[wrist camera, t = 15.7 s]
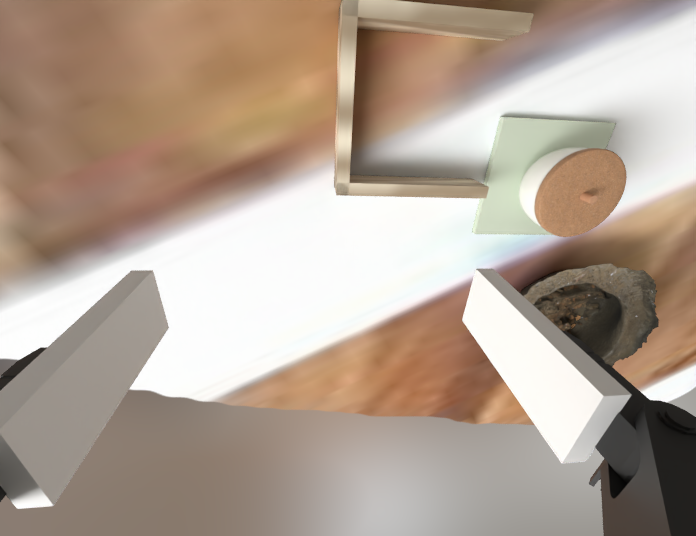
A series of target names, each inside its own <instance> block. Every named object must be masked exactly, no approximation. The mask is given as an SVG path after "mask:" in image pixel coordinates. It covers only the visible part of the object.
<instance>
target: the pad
mask: <svg viewBox="0 0 696 536" xmlns="http://www.w3.org/2000/svg"><path fill="white" fill-rule="evenodd" d="M615 125H616V123H607V122H588V121H570V120H551V119H532V118H514V117H500V120H499V124H498V128H497V132H496V136H495V140H494V144H493V148H492V152H491V156H490V160H489V164H488V168H487V172H486V176H485V180H484V185H486V186H488V187H489V190H488V194H487V197H486V198H480V200H479V204H478V208H477V212H476V216H475V220H474V224H473V228H472V232H473V233H474V234H532V235H554V234H552V233H550V232H548V231H546V230H545V229H544V228H542V227H541V226H539V225H537V224H536V223H535V222H533V221H532V220H531V219H530V218H529V217H528V216H527V215H526V214H525V212H524V211H523V209H522V207H521V205H520V201H519V187H520V183H521V180H522V178H523V176H524V174H525V173H526V171H527V170H528V169H529V167H530V166H531V165H532V164H533V163H534V162H536V161H537V160H538V159H540V158H541V157H542V156H544V155H546V154H548V153H550V152H553V151H556V150H559V149H564V148H573V147H584V148H600V149H606V147H607V145H608V142H609V140H610V137H611V135H612V132H613V130H614V127H615Z"/></svg>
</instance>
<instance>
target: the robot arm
mask: <svg viewBox="0 0 696 536" xmlns="http://www.w3.org/2000/svg"><path fill="white" fill-rule="evenodd" d="M462 321H463V322H464V324H465V325H466V327H467V328H468V329H469V331H470V332H471V334H472V335H473V337H474V338H475V339H476V341H477V342H478V344H479V345H480V347H481V348H482V350H483V351H484V352H485V354H486V355H487V357H488V358H489V360H490V361H491V362H492V364H493V365H494V367H495V368H496V370H497V371H498V373H499V374H500V375H501V377H502V378H503V380H504V381H505V383H506V384H507V385H508V387H509V388H510V390H511V391H512V393H513V394H514V395H515V397H516V398H517V400H518V401H519V403H520V404H521V406H522V407H523V408H524V410H525V411H526V413H527V414H528V416H529V417H530V418H531V420H532V421H533V423H534V424H535V425H536V427H537V428H538V430H539V431H540V433H541V434H542V436H543V437H544V439H545V440H546V441H547V443H548V444H549V445H550V447H551V449H552V450H553V451H554V453H555V454H556V456H557V457H558V459H559V460H560V462H561V463H562V464H563V463H575V462H586V461H587V460H588V458H589V457H590V455H591V454H592V452H593V451H594V450H595V448H596V449H597V450H598V451H599V452H600V454H601V455H602V456H603V457H604V458H605V459H604V460H603V462H602V463H601V465H600V466H599V467H598V469H597V470H596V471H595V473H594V474H593V476H592V477H591V479H590V482H589V484H590V485H592V486H594V485H595V484H596V483H597V481H598V480H600V479H601V491H602V509H603V510H602V511H603V530H604V536H696V417H695V416H693V415H691V414H690V413H688V412H687V411H685V410H683V409H681V408H679V407H677V406H675V405H672V404H669V403H666V402H662V401H653V400H649V399H648V398H647V397H646V396H644V395H643V394H642V393H641V392H640V391H639V390H638V389H636V388H635V387H634V386H633V385H632V384H631V383H630V382H628V381H627V380H626V379H625V378H624V377H623V376H622V375H620V374H619V373H618V372H617V371H616V370H615V369H614V368H612V367H611V366H610V365H609V364H606V363H605V361H604V360H603V359H602V358H601V357H600V356H599V355H597V354H595V353H594V351H593V350H592V349H591V348H589V347H588V346H587V345H586V344H585V343H584V342H583V341H581V340H580V339H578V338H576V337H575V336H573V335H571V334H570V333H568V332H566V331H561V330H560V329H559V328H558V327H557V326H555V325H554V324H553V323H552V322H551V321H550V320H549V319H548V318H547V317H545V316H544V315H543V314H542V313H541V312H540V311H539V310H538V309H537V308H536V307H534V306H533V305H532V304H531V303H530V302H529V301H528V300H527V299H526V298H525V297H523V296H522V295H521V294H520V293H519V292H518V291H517V290H516V289H515V288H513V287H512V286H511V285H510V284H509V283H508V282H507V281H506V280H505V279H504V278H502V277H501V276H500V275H499V274H498V273H497V272H496V271H495V270H494V269H476V271H475V275H474V278H473V282H472V286H471V289H470V293H469V297H468V301H467V304H466V308H465V312H464V315H463V319H462ZM168 328H169V327H168V323H167V320H166V316H165V312H164V309H163V305H162V302H161V298H160V294H159V291H158V287H157V284H156V280H155V276H154V273H153V271H131V272H130V273H128V274H127V275H126V276H125V277H124V278H123V279H122V280H121V281H120V282H119V283H118V284H116V285H115V286H114V287H113V288H112V289H111V290H110V291H109V292H108V293H107V294H105V295H104V296H103V297H102V298H101V299H100V300H99V301H98V302H97V303H96V304H95V305H93V306H92V307H91V308H90V309H89V310H88V311H87V312H86V313H85V314H84V315H83V316H81V317H80V318H79V319H78V320H77V321H76V322H75V323H74V324H73V325H72V326H71V327H69V328H68V329H67V330H66V331H65V332H64V333H63V334H62V335H61V336H60V337H58V338H57V339H56V340H55V341H54V342H53V343H52V344H51V345H50V346H49V347H48V348H39V349H38V350H36V351H34V352H32V353H31V354H29V355H27V356H25V357H24V358H22V359H20V360H19V361H17V362H16V363H15V364H14V365H13V366H11V367H10V368H9V369H8V370H7V371H6V372H5V373H3V374H2V375H1V378H0V502H1V500H2V499H3V498H4V496H5V495H6V496H7V497H8V498H9V499H10V501H11V502H12V503H13V504H14V505H15V506H16V508H17V509H21V508H33V507H45V506H54V504H55V503H56V501H57V500H58V498H59V497H60V495H61V494H62V492H63V490H64V489H65V487H66V486H67V484H68V483H69V481H70V480H71V478H72V477H73V475H74V473H75V472H76V470H77V469H78V467H79V466H80V464H81V463H82V461H83V460H84V458H85V456H86V455H87V453H88V452H89V450H90V449H91V447H92V445H93V444H94V443H95V441H96V439H97V438H98V436H99V435H100V433H101V432H102V430H103V429H104V427H105V425H106V424H107V422H108V421H109V419H110V418H111V416H112V415H113V413H114V412H115V410H116V408H117V407H118V405H119V404H120V402H121V401H122V399H123V398H124V396H125V395H126V393H127V391H128V390H129V388H130V387H131V385H132V384H133V382H134V381H135V379H136V378H137V376H138V374H139V373H140V371H141V370H142V368H143V367H144V365H145V364H146V362H147V360H148V359H149V357H150V356H151V354H152V353H153V351H154V350H155V348H156V347H157V345H158V343H159V342H160V340H161V339H162V337H163V336H164V334H165V333H166V331H167V330H168Z"/></svg>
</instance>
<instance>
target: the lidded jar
mask: <svg viewBox="0 0 696 536" xmlns="http://www.w3.org/2000/svg"><path fill="white" fill-rule="evenodd" d="M625 184H626V170H625V166H624V163H623V162H622V160H621V158H620V157H619V156H618V155H617V154H615V153H614V152H612V151H609V150H606V149H600V148H584V147H573V148H564V149H559V150H556V151H553V152H550V153H548V154H546V155H544V156H542V157H541V158H540V159H538V160H537V161H536V162H534V163H533V164H532V165H531V166H530V167H529V169H528V170H527V171H526V173H525V174H524V176H523V178H522V180H521V183H520V187H519V201H520V205H521V207H522V209H523V211H524V212H525V214H526V215H527V216H528V217H529V218H530V219H531V220H532V221H533V222H535V223H536V224H537V225H539V226H541V227H542V228H544V229H545V230H546V231H548V232H550V233H552V234H554V235H557V236H562V237H570V236H575V235H579V234H582V233H585V232H587V231H589V230H591V229H593V228H594V227H596V226H597V225H599V224H600V223H601V222H602V221H604V220H605V219H606V218H607V217H608V216H609V215H610V213H611V212H612V211H613V210H614V208H615V207H616V206H617V204H618V202H619V201H620V199H621V197H622V194H623V192H624V188H625Z"/></svg>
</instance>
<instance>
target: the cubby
mask: <svg viewBox="0 0 696 536" xmlns="http://www.w3.org/2000/svg"><path fill="white" fill-rule="evenodd" d="M533 15H534V13H524V12H513V11H503V10H492V9H482V8H471V7H460V6H450V5H439V4H429V3H418V2H408V1H397V0H342V1H341V4H340V8H339V27H338V64H337V101H336V138H335V175H334V187H335V191H336V194H337V195H351V196H397V197H443V198H486V197H487V194H488V190H489V187H488V186H486V185H484V184H482V183H480V182H478V181H475V180H473V179H466V178H432V177H398V176H364V175H350V162H351V142H352V122H353V102H354V81H355V61H356V41H357V29H369V30H381V31H393V32H405V33H417V34H429V35H441V36H453V37H465V38H477V39H489V40H501V41H503V40H506V39H509V38H512V37H515V36H518V35H521V34H524V33H527V32H529V31H530V27H531V23H532V19H533Z"/></svg>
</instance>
